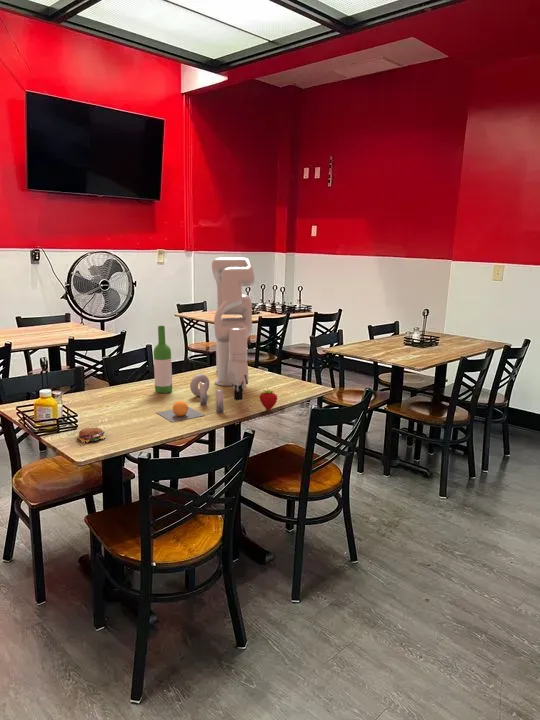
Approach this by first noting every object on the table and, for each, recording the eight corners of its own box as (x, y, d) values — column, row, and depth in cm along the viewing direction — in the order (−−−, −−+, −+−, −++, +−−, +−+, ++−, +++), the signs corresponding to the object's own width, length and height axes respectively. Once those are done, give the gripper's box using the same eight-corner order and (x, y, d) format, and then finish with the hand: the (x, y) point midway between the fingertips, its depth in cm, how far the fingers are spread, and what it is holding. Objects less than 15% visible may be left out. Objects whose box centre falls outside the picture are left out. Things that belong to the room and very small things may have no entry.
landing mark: (188, 407, 219) (188, 406, 219) (204, 415, 208) (204, 415, 208) (156, 413, 211) (156, 412, 211) (171, 422, 200) (171, 421, 200)
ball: (166, 407, 206) (174, 418, 209) (175, 409, 202) (183, 421, 205) (177, 396, 209) (185, 407, 212) (186, 399, 205) (193, 410, 208)
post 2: (221, 410, 214) (220, 389, 212) (224, 412, 212) (224, 390, 210) (215, 412, 213) (214, 390, 211) (218, 413, 210) (218, 391, 209)
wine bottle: (174, 389, 246) (172, 325, 240) (168, 394, 238) (166, 327, 232) (158, 388, 247) (156, 324, 241) (152, 393, 240) (149, 327, 233)
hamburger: (62, 440, 183) (60, 423, 182) (102, 432, 191) (101, 416, 190) (75, 452, 172) (74, 434, 171) (117, 443, 180) (116, 426, 179)
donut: (193, 399, 231) (193, 376, 229) (188, 397, 233) (188, 375, 231) (211, 394, 238) (210, 372, 236) (206, 393, 240) (205, 371, 238)
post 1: (205, 403, 225) (204, 382, 223) (208, 404, 223) (207, 383, 221) (199, 404, 223) (198, 383, 221) (202, 405, 221) (201, 384, 219)
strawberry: (272, 414, 210) (273, 389, 208) (256, 411, 214) (256, 387, 212) (280, 410, 215) (280, 386, 213) (263, 407, 219) (263, 384, 217)
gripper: (221, 355, 225) (221, 397, 229) (240, 361, 213) (240, 405, 217) (236, 353, 229) (236, 394, 233) (255, 359, 217) (255, 402, 221)
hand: (238, 399), depth 225 cm, fingers closed
